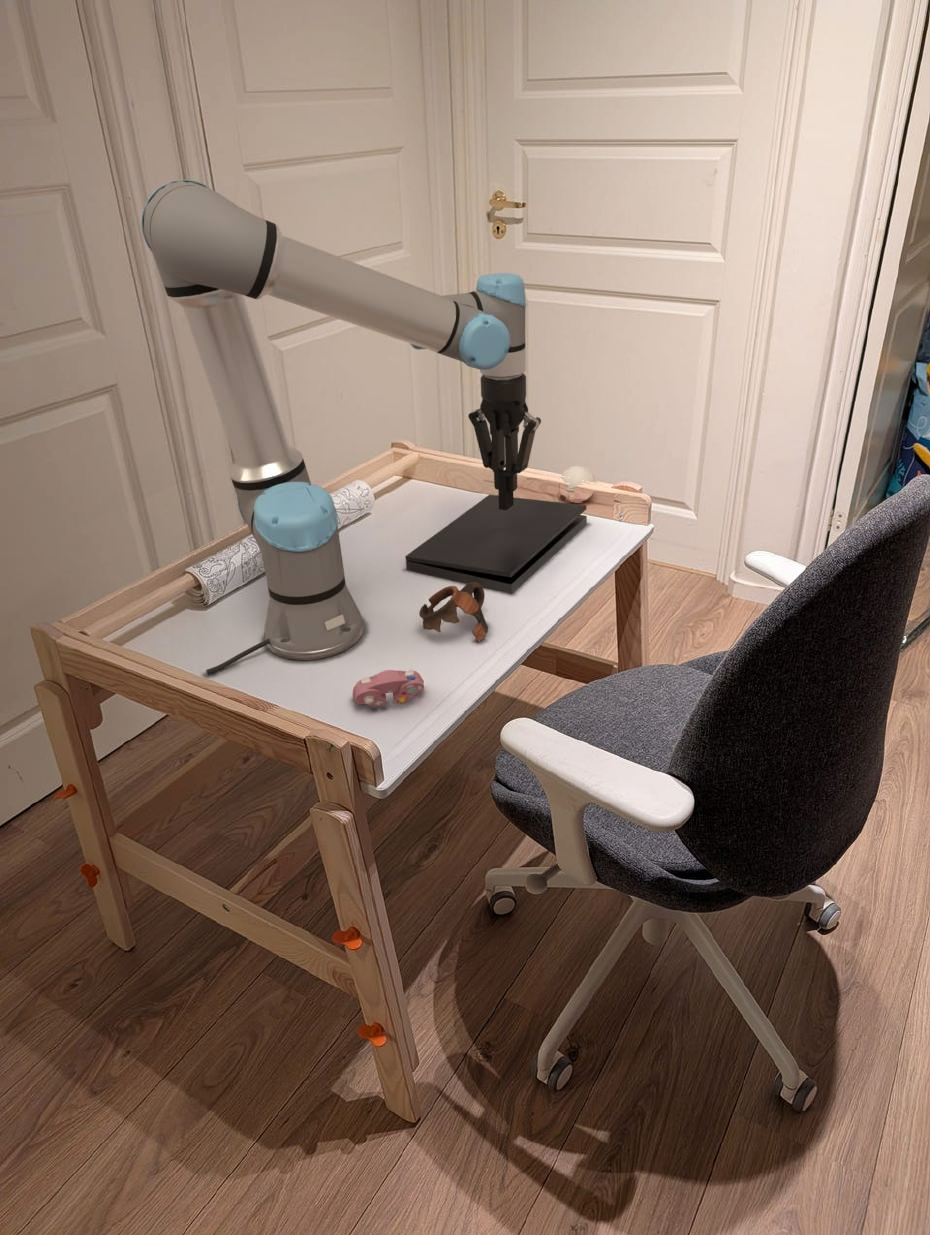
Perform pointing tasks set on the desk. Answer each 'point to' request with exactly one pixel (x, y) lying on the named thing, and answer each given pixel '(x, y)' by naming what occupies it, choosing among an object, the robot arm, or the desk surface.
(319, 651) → the robot arm
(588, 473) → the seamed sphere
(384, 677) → the video game controller
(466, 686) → the desk surface
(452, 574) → the laptop
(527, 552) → the laptop screen
